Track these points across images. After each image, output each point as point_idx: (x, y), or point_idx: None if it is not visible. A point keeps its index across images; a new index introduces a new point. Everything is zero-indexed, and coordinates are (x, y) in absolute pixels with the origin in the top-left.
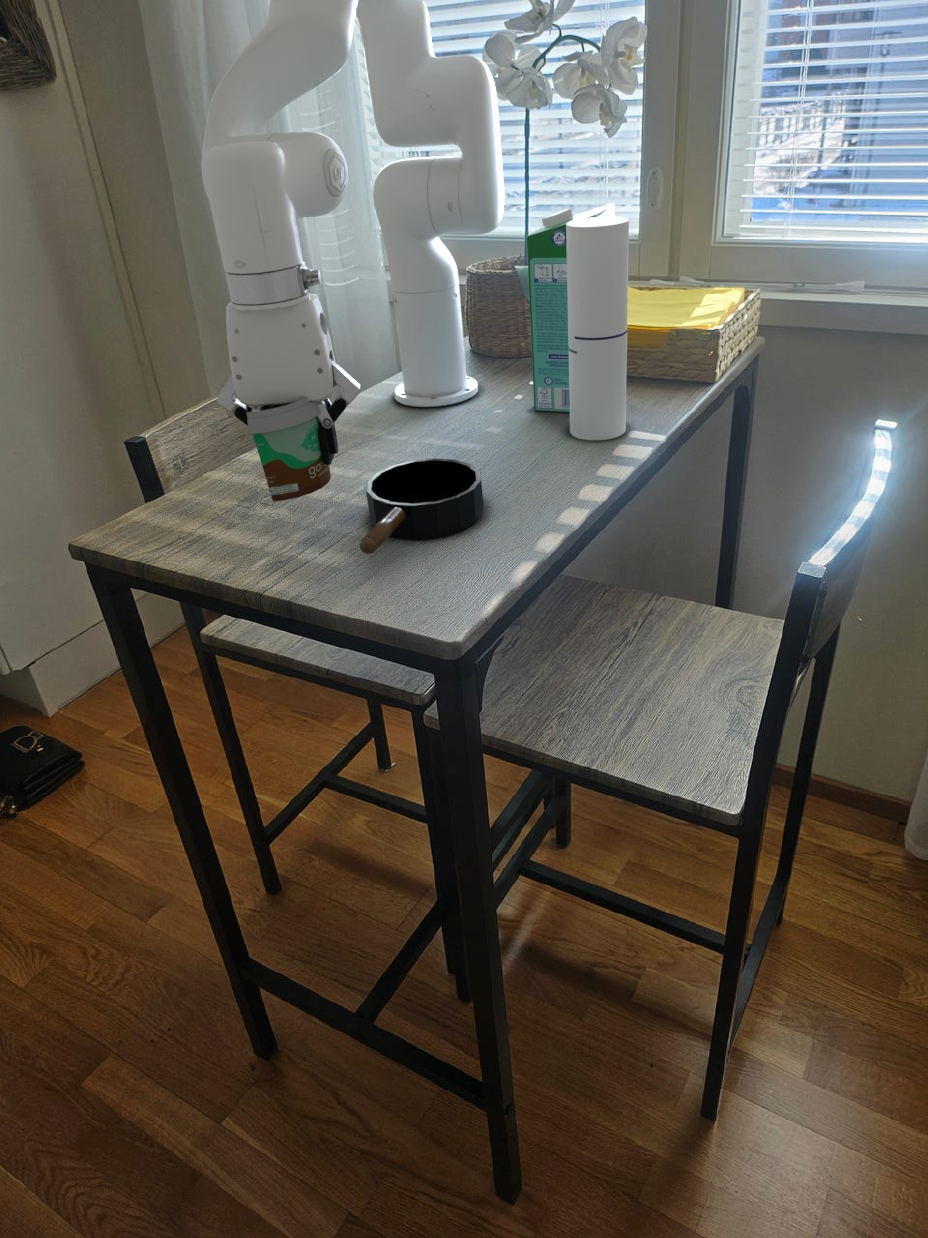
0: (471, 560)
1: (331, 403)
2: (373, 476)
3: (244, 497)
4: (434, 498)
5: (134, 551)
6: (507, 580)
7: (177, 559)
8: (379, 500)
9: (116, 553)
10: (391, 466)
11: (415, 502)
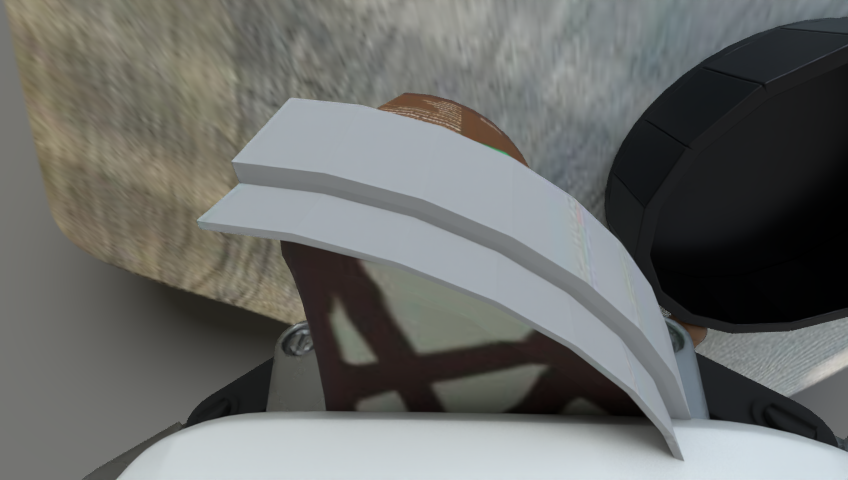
0: (767, 336)
1: (701, 385)
2: (668, 177)
3: (230, 34)
4: (803, 117)
5: (183, 272)
6: (797, 379)
7: (276, 298)
8: (663, 307)
9: (159, 275)
10: (751, 96)
11: (738, 137)
